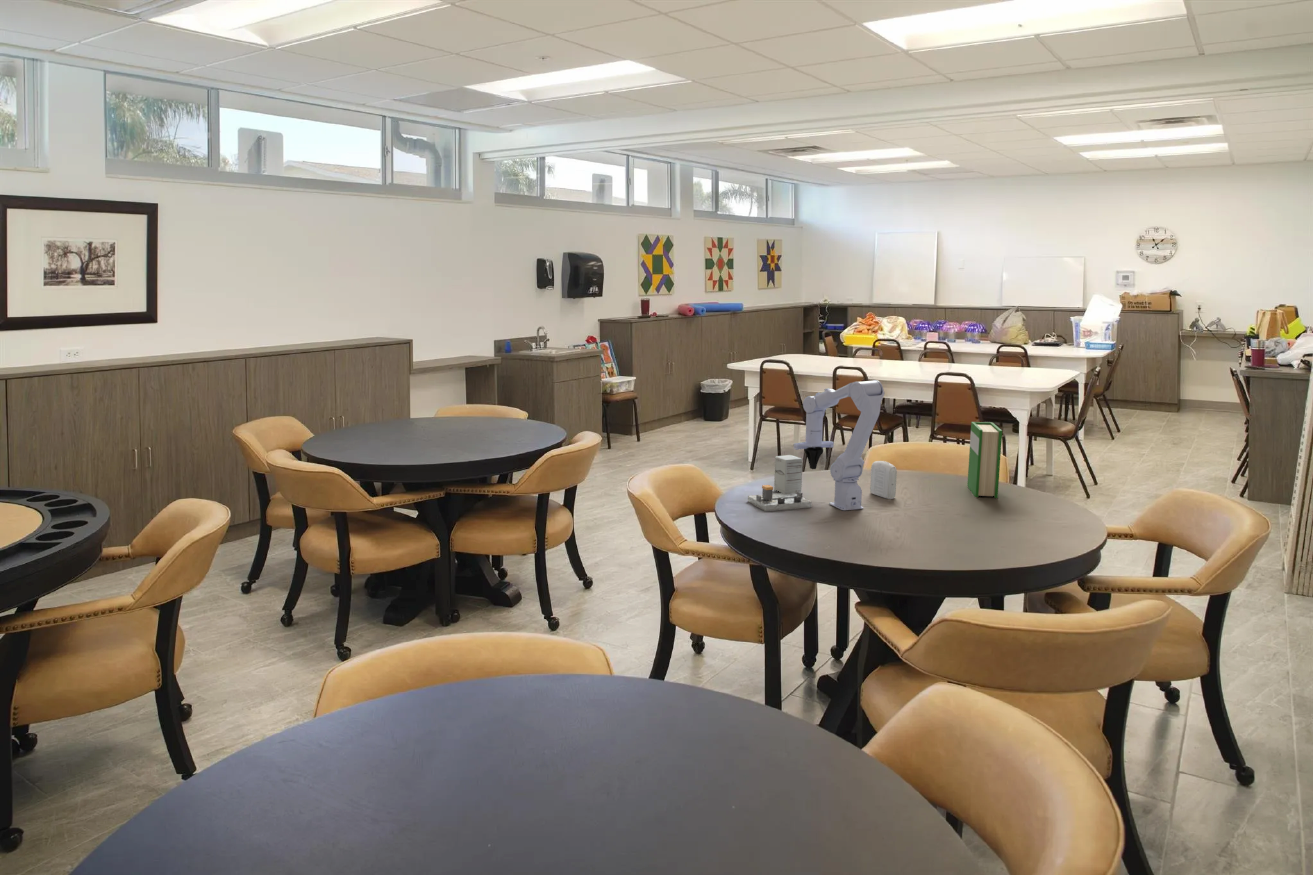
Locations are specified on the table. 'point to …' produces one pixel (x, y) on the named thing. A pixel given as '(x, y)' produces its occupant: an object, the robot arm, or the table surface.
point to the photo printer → (883, 479)
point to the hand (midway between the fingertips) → (812, 468)
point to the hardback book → (984, 459)
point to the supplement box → (788, 474)
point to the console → (780, 501)
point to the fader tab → (767, 492)
